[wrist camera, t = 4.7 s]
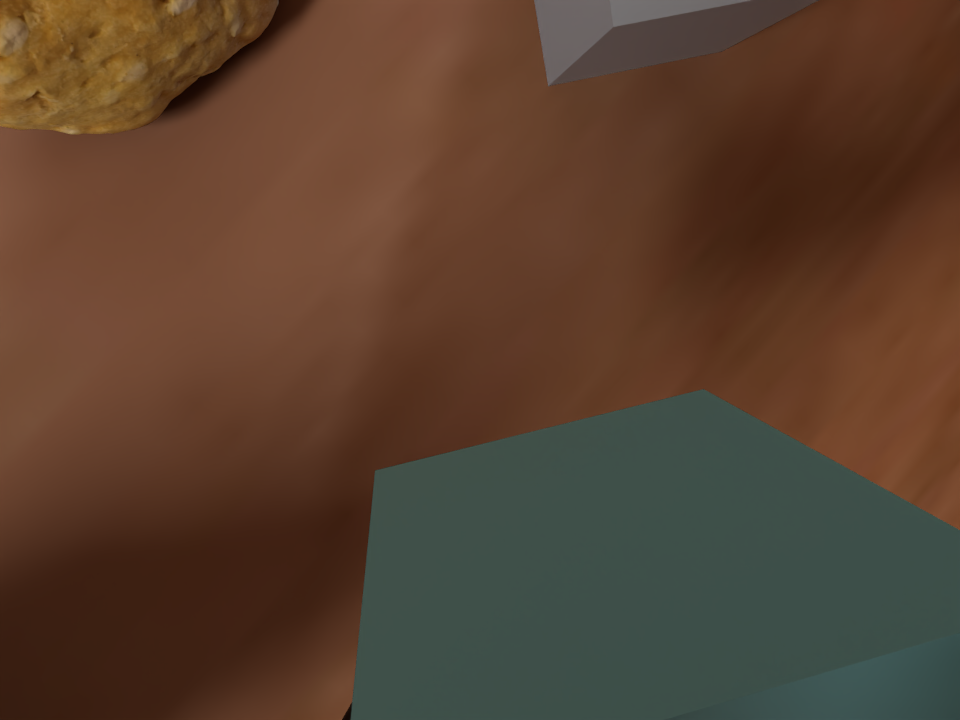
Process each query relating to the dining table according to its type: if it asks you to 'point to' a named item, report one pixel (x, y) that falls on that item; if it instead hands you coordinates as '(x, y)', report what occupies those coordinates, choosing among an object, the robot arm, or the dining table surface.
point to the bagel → (113, 57)
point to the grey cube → (645, 31)
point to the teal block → (654, 580)
